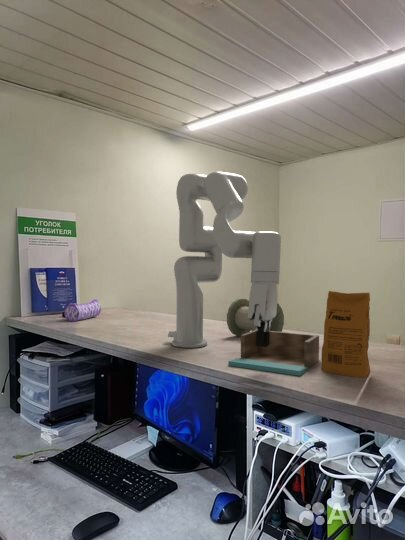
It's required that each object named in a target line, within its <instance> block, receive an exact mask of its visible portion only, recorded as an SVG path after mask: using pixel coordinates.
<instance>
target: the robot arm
mask: <svg viewBox="0 0 405 540" xmlns="http://www.w3.org/2000/svg"><path fill="white" fill-rule="evenodd" d="M248 190H249V187H248V182H247V180H246V179H245V177H244V176H242V175H240V174H237V173H231V172H225V171H224V172H223V171H213V172H211V173H208V174H200V173H187V174H184V175H182V176H180V178H179V180H178V182H177V186H176V191H175V192H176V193H175V194H176V201H177V205H178V211H179V213H178V214H179V218H178V219H179V221H178V222H179V224H178V225H179V227H178V233H179V234H178V242H179V243H178V244H179V248H180V249H181V250H182V251H183V252H187V253H199V254H200V253H204V256H199V255H186V256H184V255H183V256H181V257H179V258H177V259H176V260H175V263H174V265H173V272H174V277H175V285H176V286H175V287H176V326H175V331H173V330H172V331H170V330H169V331H168V334H167V337H168V338H173V340H172V341H171V345H172V346H174V347H177V348H184V349H185V348H187V349H189V348H190V349H192V348H193V349H195V348H202V347H206V346H207V345H208V341H207V340H206V339H204V293H203V291H202V288H201V287H200V285H199V284H200V283H203V284H204V283H206V284H207V283H216V282H218V281H219V279H220V278H221V276H222V270H223V255H224V256H225V257H227V258H231V259H232V258H233V259H235V258H236V259H251V269H250V270H251V271H250V273H251V274H250V275H251V276H250V283H251V285H250V291H249V299H248V301H249V309H248V319H249V320H254V319H255V320H254V326H256V345H257V346H263V347H267V346H269V339H270V326H271V321H272V319H273V318H274V317H275V316H276V312H277V304H278V289H277V288H278V285H279V284H280V274H281V272H280V271H281V250H282V248H281V243H282V236H281V234H280V233H278V232H276V231H267V230H266V231H247V230H234V229H233V228H232V227H231V225H230V222H232V221H234V220H236V219H238V218H239V217H240V216H241V215H242V213H243V211H244V207H245V206H244V202H243V201H242V200H244V199H245V198H246V196H247V194H248ZM197 200H201V201H208V202H209V201H210V203H211V205H212V207H213V209H214V210H215V213H216V215H215V216H214V219H213V224H212V226H205V225H204V211H203V208H202V206H201V205H200V203H199V202H198V201H197ZM198 283H199V284H198Z"/></svg>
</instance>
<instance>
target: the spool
mask: <svg viewBox="0 0 405 540" xmlns="http://www.w3.org/2000/svg"><path fill="white" fill-rule="evenodd" d="M248 309H249V299H246V298H237V299H235V300H234V301H232V302H231V304H230V305H229V307H228V309H227V313H226V325H227V328H228V330H229V332H230V333H231V334H232V335H234V336H236V337H241V335H243V334H245V333H248V332H251V331H254V330H256V326H254V320H255V319H254V320H249V319H248ZM284 325H285V316H284V310H283V308H282V307H281V305H280V304H279V303H277V312H276V316H275V317H274V318H273V319H272V321H271V326H270V331H276V332H283V329H284Z"/></svg>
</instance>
